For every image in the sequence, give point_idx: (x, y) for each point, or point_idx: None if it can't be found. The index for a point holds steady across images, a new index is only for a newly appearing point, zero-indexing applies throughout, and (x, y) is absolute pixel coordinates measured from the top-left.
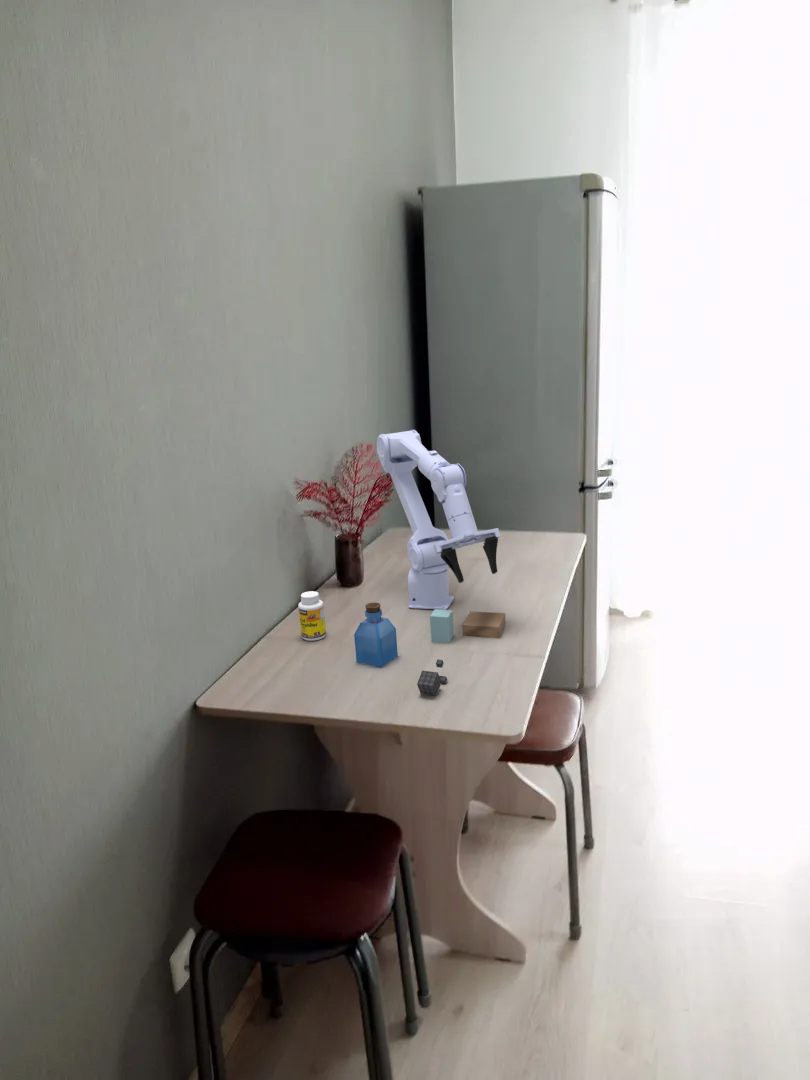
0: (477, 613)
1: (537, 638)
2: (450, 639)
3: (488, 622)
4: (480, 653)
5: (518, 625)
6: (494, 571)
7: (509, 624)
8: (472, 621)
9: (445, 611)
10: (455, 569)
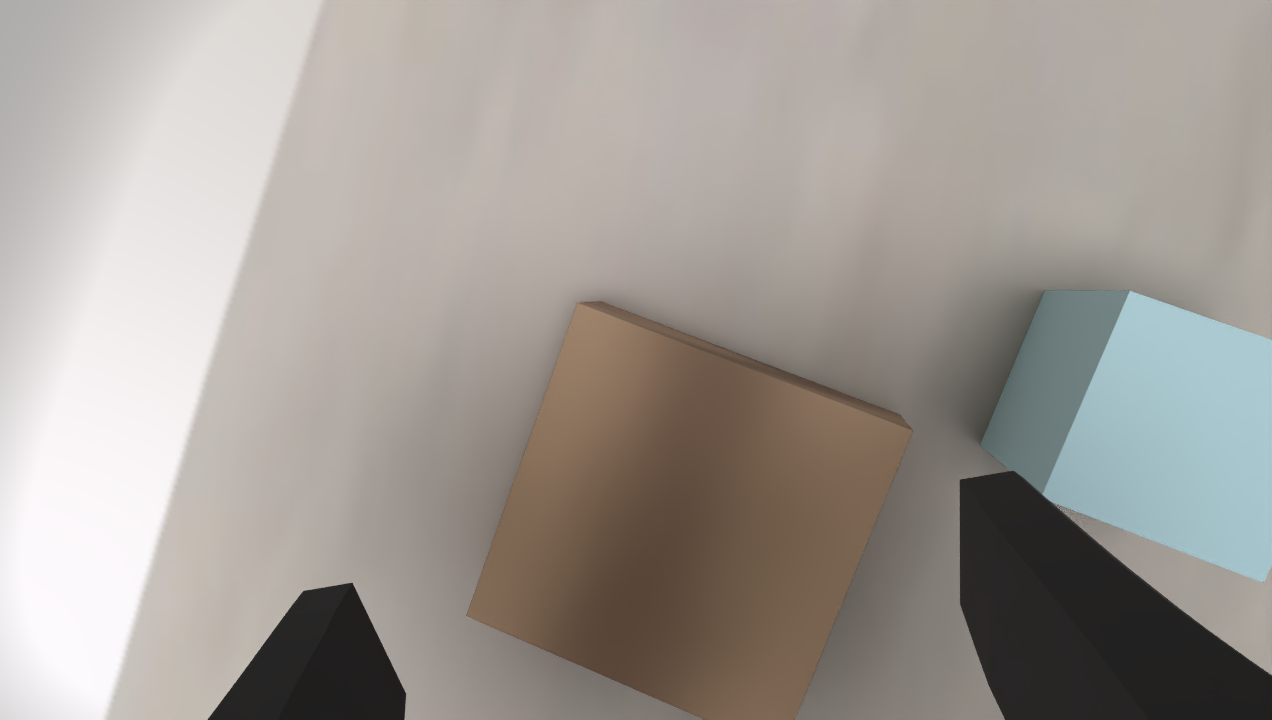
0: (717, 677)
1: (308, 232)
2: (1031, 332)
3: (650, 433)
4: (804, 18)
5: (403, 524)
6: (346, 592)
7: (469, 563)
8: (797, 494)
9: (1133, 477)
10: (1193, 635)
